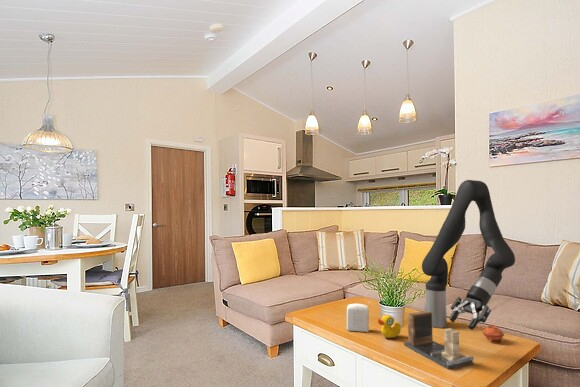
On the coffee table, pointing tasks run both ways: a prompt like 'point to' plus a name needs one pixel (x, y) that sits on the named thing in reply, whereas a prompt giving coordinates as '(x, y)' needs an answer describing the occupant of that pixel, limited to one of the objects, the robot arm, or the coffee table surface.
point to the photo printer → (357, 318)
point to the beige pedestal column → (451, 345)
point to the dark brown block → (420, 327)
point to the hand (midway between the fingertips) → (460, 324)
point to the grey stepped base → (439, 354)
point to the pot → (493, 333)
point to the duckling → (389, 326)
